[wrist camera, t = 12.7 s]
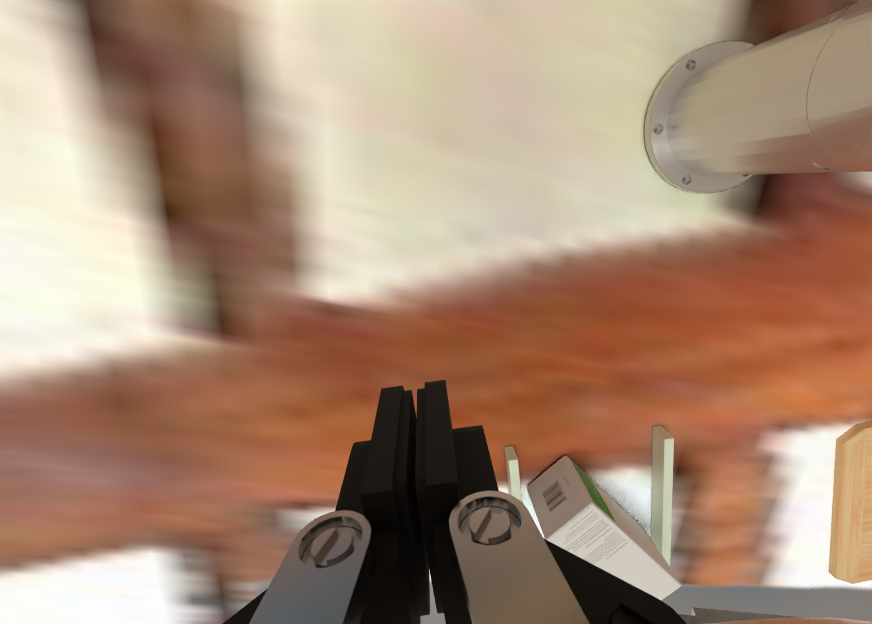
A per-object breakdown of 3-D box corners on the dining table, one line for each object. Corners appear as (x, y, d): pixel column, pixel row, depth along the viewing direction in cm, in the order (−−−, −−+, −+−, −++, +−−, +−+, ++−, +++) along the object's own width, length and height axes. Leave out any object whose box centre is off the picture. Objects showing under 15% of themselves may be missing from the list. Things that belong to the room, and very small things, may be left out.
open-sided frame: (661, 425, 48) (673, 438, 46) (658, 568, 54) (669, 586, 52) (504, 447, 48) (508, 460, 46) (518, 587, 55) (523, 605, 52)
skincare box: (563, 452, 49) (644, 524, 53) (521, 488, 50) (603, 556, 54) (594, 505, 41) (686, 585, 45) (543, 546, 42) (637, 621, 46)
